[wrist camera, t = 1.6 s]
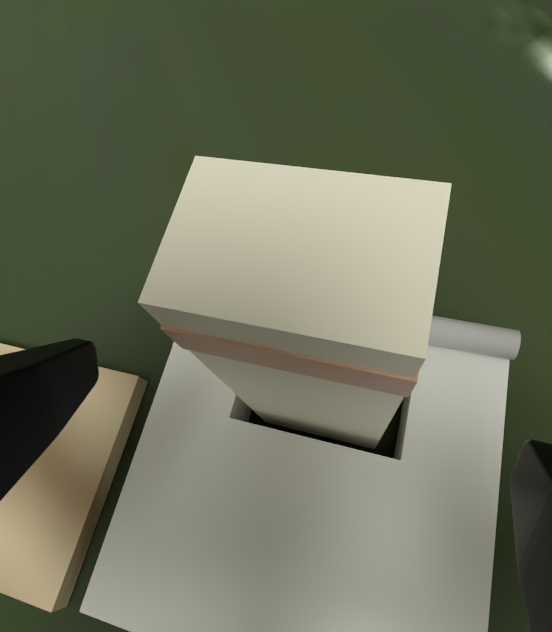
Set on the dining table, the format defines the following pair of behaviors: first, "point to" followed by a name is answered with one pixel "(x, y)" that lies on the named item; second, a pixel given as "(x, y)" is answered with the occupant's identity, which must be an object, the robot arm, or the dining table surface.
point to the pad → (65, 494)
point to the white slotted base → (312, 508)
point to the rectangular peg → (303, 289)
